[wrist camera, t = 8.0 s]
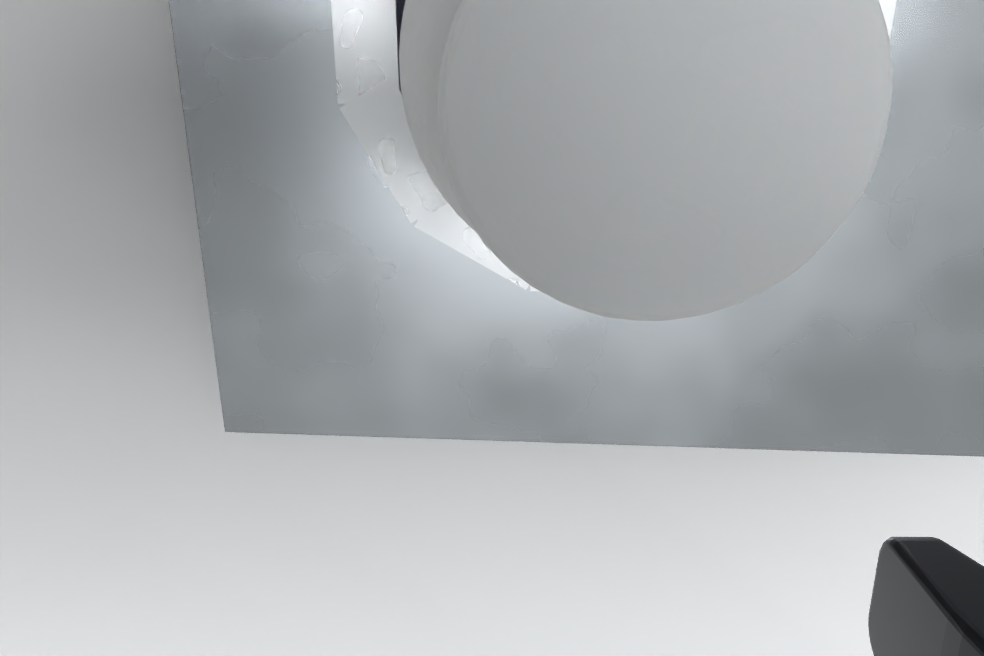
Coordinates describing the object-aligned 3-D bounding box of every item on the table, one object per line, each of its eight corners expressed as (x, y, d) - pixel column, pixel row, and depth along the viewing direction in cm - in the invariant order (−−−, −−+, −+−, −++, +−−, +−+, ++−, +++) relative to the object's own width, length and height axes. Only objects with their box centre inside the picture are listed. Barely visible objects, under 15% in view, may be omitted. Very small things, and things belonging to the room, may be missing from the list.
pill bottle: (394, -39, 17) (215, 6, 8) (661, -223, 15) (812, -426, 6) (547, 210, 18) (542, 480, 10) (800, 65, 17) (1071, 221, 8)
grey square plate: (236, 414, 22) (175, 508, 18) (148, -293, 16) (37, -353, 13) (1026, 439, 21) (1122, 543, 17) (1224, -306, 15) (1425, -375, 12)
